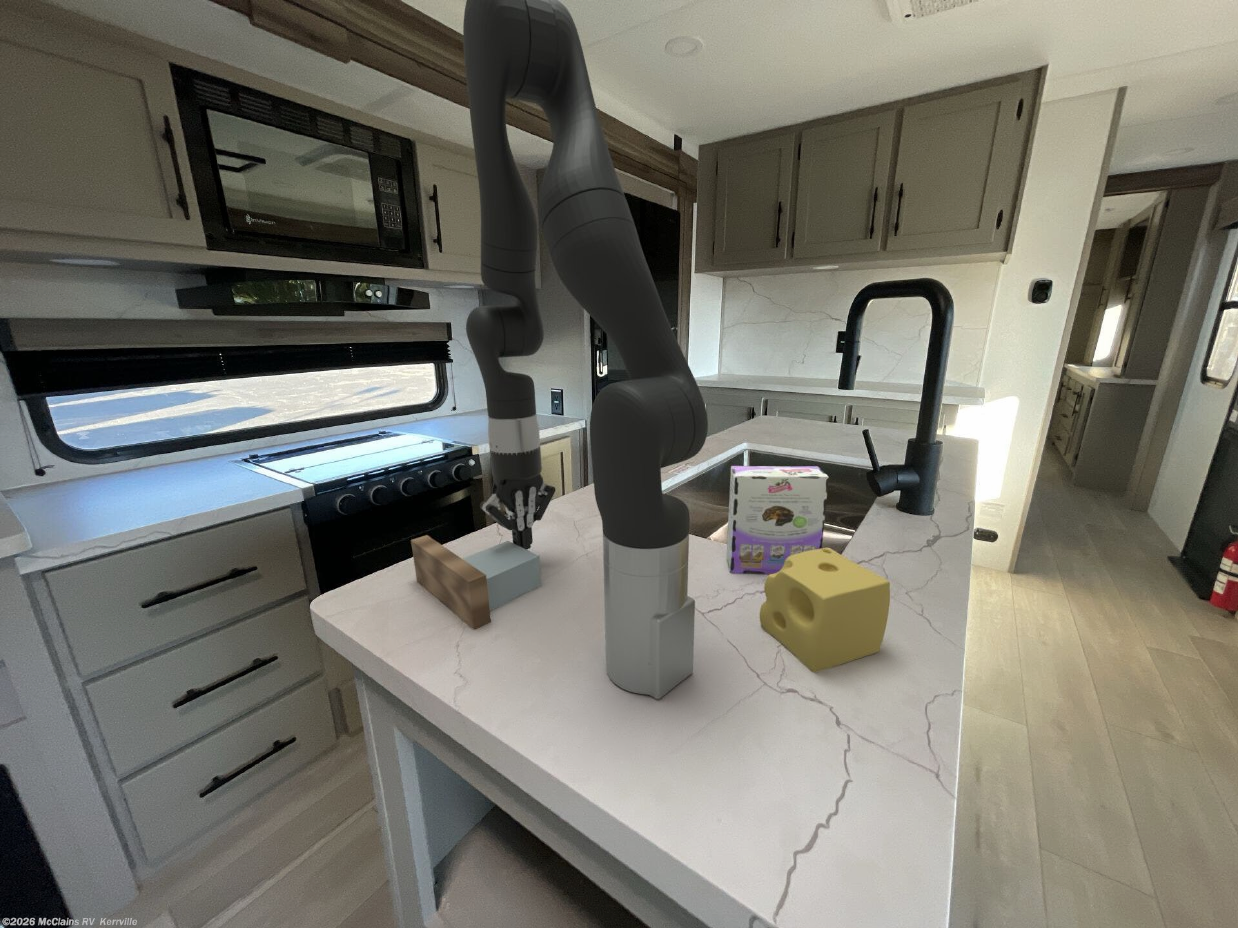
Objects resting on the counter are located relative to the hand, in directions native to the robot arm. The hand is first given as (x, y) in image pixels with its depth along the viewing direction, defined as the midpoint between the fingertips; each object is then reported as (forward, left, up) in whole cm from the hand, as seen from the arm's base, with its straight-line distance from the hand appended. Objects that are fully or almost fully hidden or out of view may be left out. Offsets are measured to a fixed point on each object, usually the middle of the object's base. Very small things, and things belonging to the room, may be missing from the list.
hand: (523, 548), depth 80 cm
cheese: (-42, -15, -4) cm, 45 cm away
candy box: (-28, -28, -4) cm, 40 cm away
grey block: (-3, +6, -4) cm, 8 cm away
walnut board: (0, +13, -4) cm, 13 cm away
